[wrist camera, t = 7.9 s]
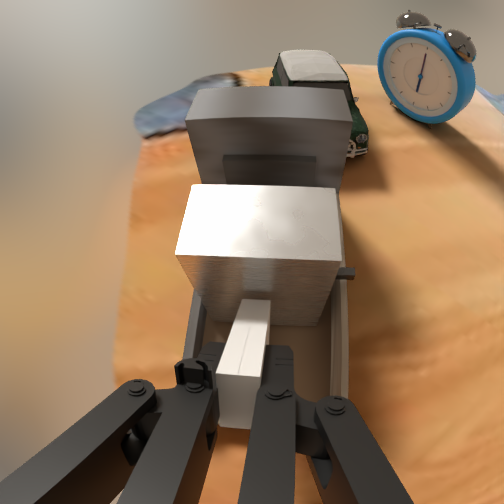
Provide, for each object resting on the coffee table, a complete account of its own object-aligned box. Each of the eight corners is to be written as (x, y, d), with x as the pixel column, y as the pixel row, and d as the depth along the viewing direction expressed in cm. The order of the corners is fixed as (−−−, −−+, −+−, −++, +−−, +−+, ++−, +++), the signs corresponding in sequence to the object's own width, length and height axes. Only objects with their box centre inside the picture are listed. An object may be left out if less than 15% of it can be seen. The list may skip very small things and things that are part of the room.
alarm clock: (369, 96, 37) (383, 4, 25) (390, 87, 39) (404, 4, 26) (446, 144, 32) (480, 46, 19) (460, 130, 33) (490, 44, 21)
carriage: (340, 274, 22) (370, 190, 14) (341, 326, 20) (382, 262, 12) (220, 269, 23) (193, 185, 15) (213, 320, 21) (175, 254, 13)
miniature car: (286, 173, 30) (287, 106, 23) (268, 89, 39) (265, 40, 33) (369, 169, 30) (385, 107, 23) (328, 87, 39) (332, 40, 32)
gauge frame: (328, 197, 28) (344, 90, 18) (331, 429, 18) (392, 438, 8) (221, 194, 29) (198, 89, 19) (185, 418, 19) (100, 411, 9)
